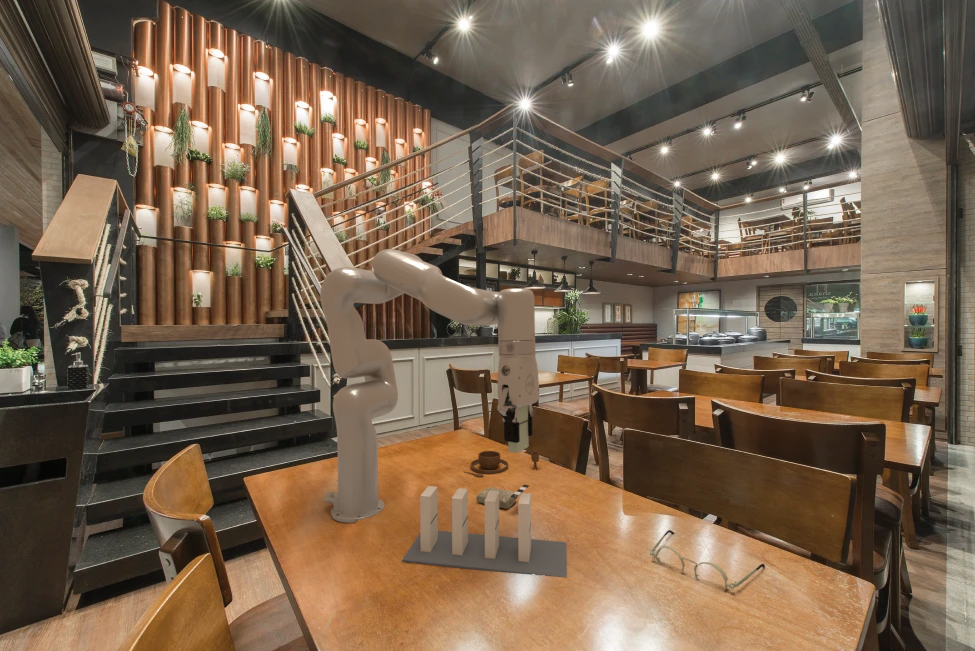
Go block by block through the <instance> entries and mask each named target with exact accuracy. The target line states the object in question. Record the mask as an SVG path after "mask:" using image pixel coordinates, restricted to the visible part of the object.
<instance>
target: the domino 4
mask: <svg viewBox="0 0 975 651" xmlns="http://www.w3.org/2000/svg"><path fill="white" fill-rule="evenodd" d="M517 505H518V506H517V507H518V508H517V509H518V512H517V514H518V516H517V517H518V518H517V519H518V520H517V522H518V525H517V526H518V527H517V529H518V536H517V538H518V561H522V562H529V559H530V552H531V539H532V493H529V492H522V493H521V494H520V495H519V500H518V504H517Z"/></svg>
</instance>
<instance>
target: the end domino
mask: <svg viewBox="0 0 975 651" xmlns="http://www.w3.org/2000/svg"><path fill="white" fill-rule="evenodd" d="M508 406H514V405H513V404H512V403H508ZM508 410H510V411H511V412H512V414H513V409H508ZM517 422H519V434H520V441H519V442H518V443H514V442H507V445H508V446H507V447H508V448H507V449H508V452H510V453H515V454H518V453H520V452H522V451H523V450H525V449H527V448H528V447H530V446H529V443H530V442H529V437H530V436H528V406H525V407H522V408H519V409H518V419H517Z"/></svg>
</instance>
